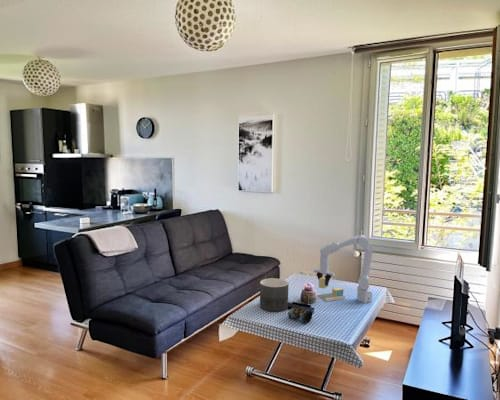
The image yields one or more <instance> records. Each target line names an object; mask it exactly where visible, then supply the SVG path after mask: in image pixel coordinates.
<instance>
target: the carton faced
mask: <svg viewBox="0 0 500 400" xmlns="http://www.w3.org/2000/svg"><path fill="white" fill-rule="evenodd" d="M331 291H332V292H331V293H332V297H338V296H344V288H342V287H334V288H332V290H331Z"/></svg>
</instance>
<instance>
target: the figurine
mask: <svg viewBox="0 0 500 400" xmlns="http://www.w3.org/2000/svg"><path fill="white" fill-rule="evenodd" d="M287 315H288V318H289V319H293V320H300V321H301V322H302V323H303V324H305V325H307V324H308V323H309V322H311V320H312V318H313V310H312V309H311V308H309V309H307V308H304V307H303V306H302V307H301V308H300V307H298V308H297V307H292V308H290V310H289V311H288V312H287Z"/></svg>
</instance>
